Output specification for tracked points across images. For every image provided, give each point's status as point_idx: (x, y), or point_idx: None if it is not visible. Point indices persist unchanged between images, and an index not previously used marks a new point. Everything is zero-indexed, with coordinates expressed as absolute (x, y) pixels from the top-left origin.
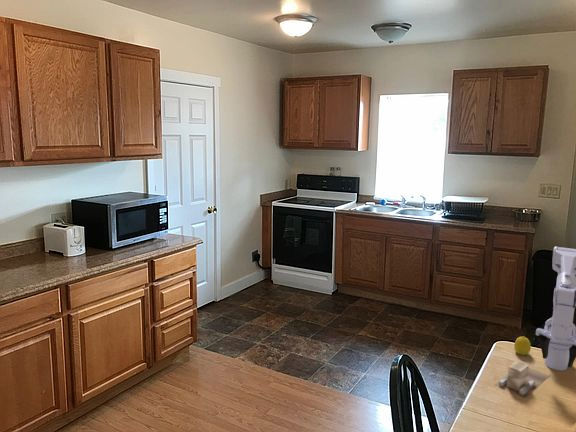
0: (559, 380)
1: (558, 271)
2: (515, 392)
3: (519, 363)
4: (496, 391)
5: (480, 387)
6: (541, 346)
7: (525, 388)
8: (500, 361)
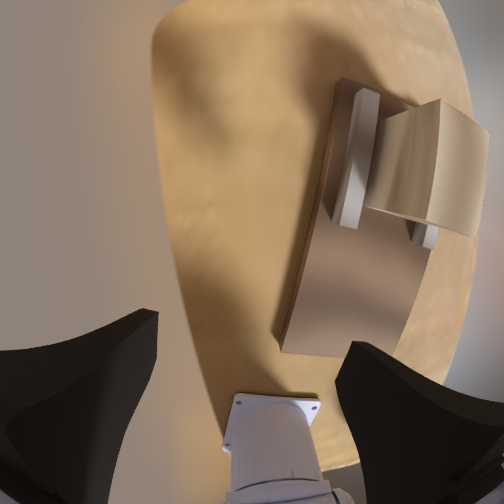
0: (241, 356)
1: None
2: (384, 103)
3: (464, 210)
4: None
5: None
6: (448, 391)
7: (363, 117)
8: (436, 346)
